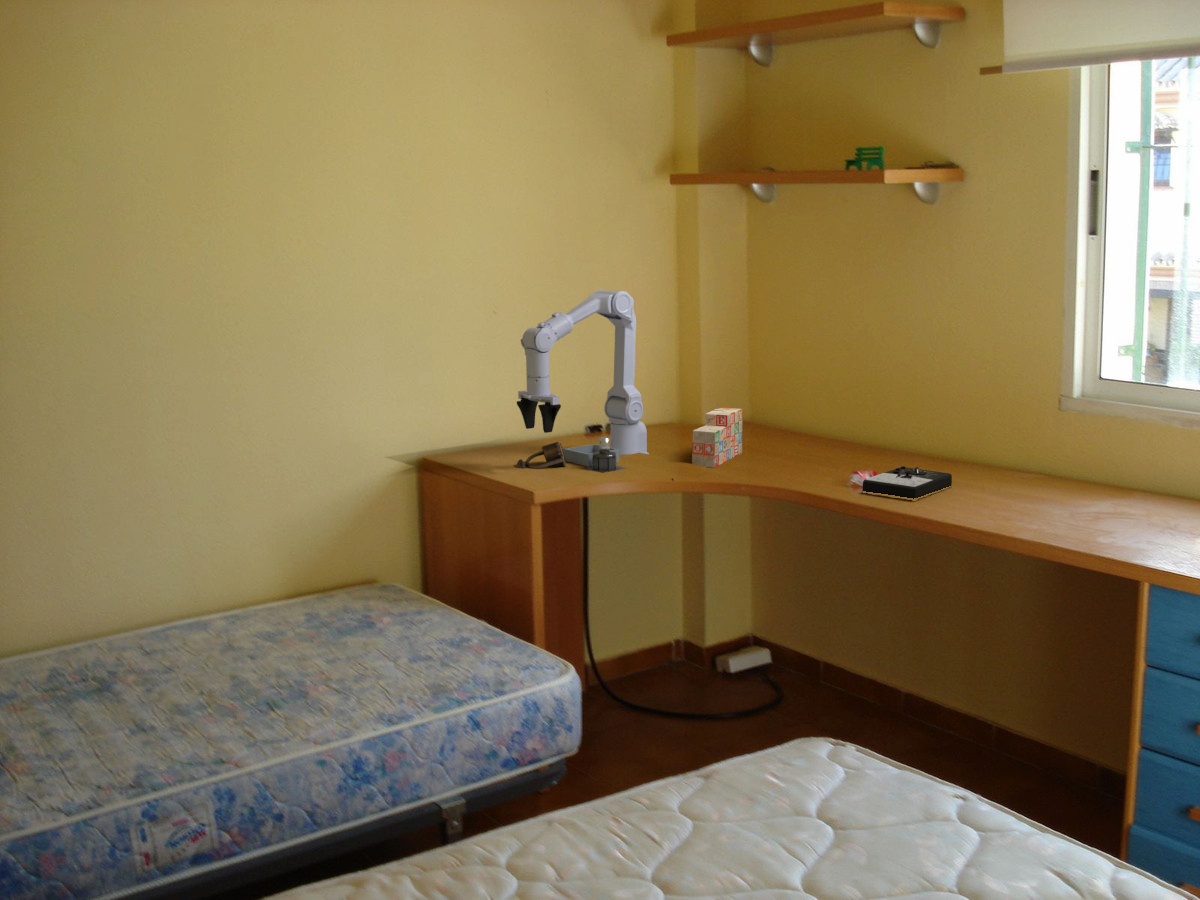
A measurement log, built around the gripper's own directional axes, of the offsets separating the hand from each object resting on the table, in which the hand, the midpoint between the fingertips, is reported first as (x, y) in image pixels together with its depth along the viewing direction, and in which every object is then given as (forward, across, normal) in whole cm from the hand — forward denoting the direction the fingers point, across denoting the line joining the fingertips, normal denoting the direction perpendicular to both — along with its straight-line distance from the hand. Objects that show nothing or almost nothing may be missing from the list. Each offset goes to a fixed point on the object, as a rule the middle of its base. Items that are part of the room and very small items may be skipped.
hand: (538, 430), depth 308 cm
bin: (+10, +4, +14) cm, 18 cm away
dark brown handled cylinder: (+10, 0, +1) cm, 11 cm away
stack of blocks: (+10, +20, +43) cm, 49 cm away
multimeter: (+11, +75, +50) cm, 91 cm away
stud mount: (+10, +13, +10) cm, 20 cm away
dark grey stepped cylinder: (+9, +13, +10) cm, 19 cm away
